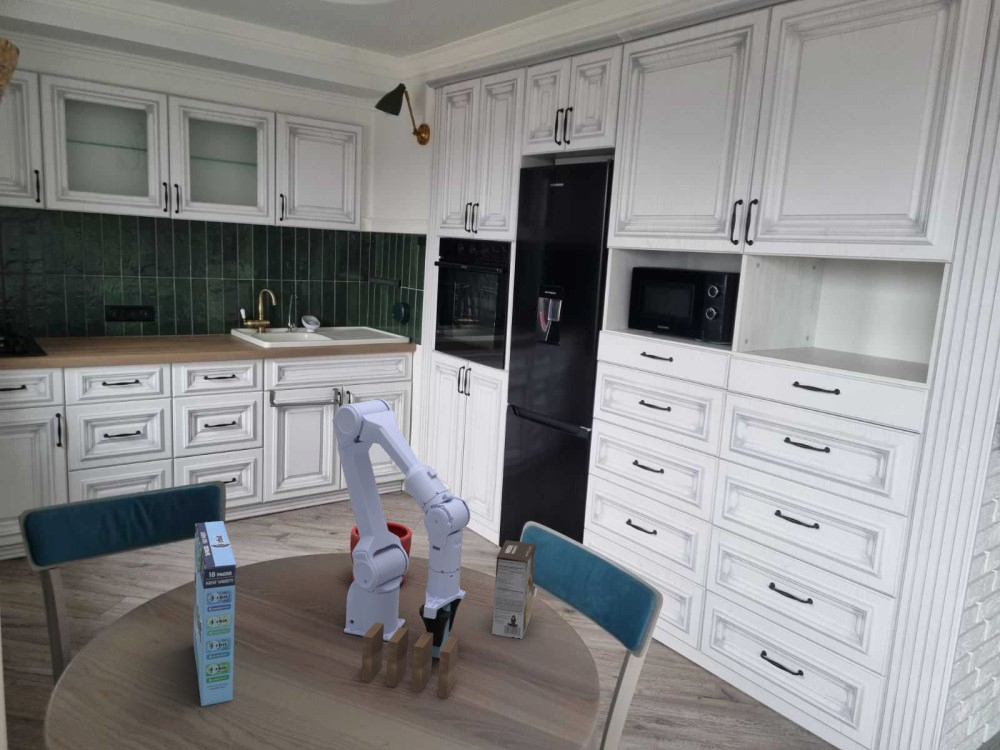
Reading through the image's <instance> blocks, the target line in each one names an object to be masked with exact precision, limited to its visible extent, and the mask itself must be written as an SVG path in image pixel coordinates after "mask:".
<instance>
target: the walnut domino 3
mask: <svg viewBox="0 0 1000 750" xmlns="http://www.w3.org/2000/svg"><path fill="white" fill-rule="evenodd" d="M432 647H433V633H430V632H427V631H423V633H422V634H421V636H419V638H418V640H417V641H416V642H415V644H414V645H413V655H412V656H413V658H412V660H413V661H412V678H411V692H415V693H419V694H422V692H423V690H424V689H425V687H426V685H427V684H428V683H429V681H430V679H431V677H432V663H433V661H432V660H433V657H432Z"/></svg>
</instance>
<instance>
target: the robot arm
mask: <svg viewBox="0 0 1000 750" xmlns="http://www.w3.org/2000/svg"><path fill="white" fill-rule="evenodd" d="M332 425H333V430H334V433H335V436H336V440H337V451H338V456H339V460H340V463H341V469H342V472H343V476H344V480H345V484H346V489H347V491H348V496H349V500H350V503H351V508H352V512H353V515H354V519H355V520H354V521H355V523H356V526H357V528H358V532H359V536H360V540H359V542H358V543H357V545H356V547H355V548H354V550H353V552H352V557H353V563H352V572H353V575H354V579H355V581H353V580H352V583H351V584H350V586H349V589H348V592H347V596H346V606H345V608H346V609H345V611H346V613H345V615H346V617H345V628H344V629H343V632H344V633H346V634H351V635H357V636H361V637H363V636H364V634H365V633H366V632H367V631H368V630H369V629H370V628H371V627H372V625H373V624H374V623H375V622H377V623H382V624H384V633H383V641H387V642H388V641H389V640H390V638H391V637H392V636H393V635H394V633H395V632H396V631H397V630H398V628H399V627H403V626H404V625H405V623H406V620H405V618H404V619H403V618H399V604H400V603H399V602H400V601H399V600H400V586H401V584H400V582H401V581H402V575H404V574H405V575H406V573H408V570H409V566H410V561H409V558H408V556H407V553H406V552H405V550H404V549H403V547H402V545H401V542H400V538H399V537H398V536H396V535H394V534H393V533H391V532H389V531H388V528H387V524H386V522H387V519H386V516H385V511H384V508H383V505H382V500H381V496H380V493H379V488H378V485H377V480H376V477H375V472H374V469H373V464H372V462H371V461H372V460H371V456H370V453H369V452H370V449H371V447H372V446H373V444H376V445H377V444H378V445H379V446H380V447H381V448H382V449H383V451H384V452H385V453H386V454H387V455H388V456H389V458H390V459H391V460H392V461H393V462H394V464H395V465H396V466H397V467H398V468H399V469H400V471H401V472H402V473H403V474H404V475H405V476H404V487H405V488H406V490H407V491H408V493H409V494H410V496H412V498H413V500H414V501H415V503H416V504H417V505H418V507H420V509H421V511H422V512H423V514H424V515H425V516H423V524H424V528H425V529H426V531H427V535H428V536H427V541H428V543H429V550H428V552H429V553H428V565H427V566H428V567H427V584H426V589H425V604H421V606H420V607H419V611H418V614H419V617H420V618H421V619H422V621H423V623H424V624H423V625H424V626H425V630H426V631H425V632H430V633H433V646H436V647H440V646H441V645H442V642H443V638H444V633H445V628H446V625H447V622H448V619H449V617H450V621H449V633H450V632H451V631H452V628H453V626H454V622H455V618H456V615H457V610H458V608H459V605H460V603H461V601H462V600H463V599H464V598H465V596H466V591H465V590H462V589H461V587H460V586H461V585H460V583H461V568H462V567H461V565H462V551H463V549H462V548H463V535H464V534H463V533H464V528H466V527H467V526H468V525H469V523H470V519H471V511H470V508H469V506H468V504H467V502H466V501H465V499H464V498H462V497H460V496H457V495H455V494H454V493H452V492H450V491H449V490H448V489H447V487H446V486H445V485H444V483H443V481H442V480H441V479H440V477H439V476H438V472H437V471H436V469H435V468H432V467H431V466H430V465H427V464H422V463H421V462H420V461H419V459H418V457H417V456H416V454H415V452H414V451H413V449H412V448H411V446H410V444H409V442H408V441H407V440H406V438H405V436H404V434H403V433H402V431H401V430H400V428H399V426H398V425H397V414H396V412H394V410H392V407H391V406H390V403H388V401H386V400H385V399H383V398H375V399H372V400H367V401H365V400H364V401H361V402H355V403H344V404H341V405H340V406H339V407H338V409H337V411H336V412H335V414H334V417H333V418H332ZM379 549H381V550H379ZM377 550H379V551H377ZM375 551H376V552H375ZM448 603H451V605H450V611H445V610H443V608H442V607H443V606H444V605H446V604H448Z"/></svg>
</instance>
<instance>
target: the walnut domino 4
mask: <svg viewBox="0 0 1000 750" xmlns="http://www.w3.org/2000/svg"><path fill="white" fill-rule="evenodd" d="M459 640H460V639H459V637H454V636H450V635H449V636H448V640H447V641H446V643H445V644H444V646H443V647H442V649H441V651H440V658H439V665H438V667H439V668H438V683H437V684H438V685H437V697H439V698H444V699H448V697H449V696H450V693H451V691H452V690H453V689H454V687H455V684H456V682H457V672H458V669H457V668H458V654H459V653H458V652H459V642H460V641H459Z"/></svg>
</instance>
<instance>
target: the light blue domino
mask: <svg viewBox="0 0 1000 750" xmlns="http://www.w3.org/2000/svg"><path fill="white" fill-rule="evenodd" d="M450 605H451V603H448V604H446V605H444V606H443V607H442V608H443V610H445V611H450ZM449 621H450V617H449V619H448V622H447V625H446V628H445V633H444V638H443V642H442V645H441V646H440V647H436V646H433V647H432V658H437V659H440V651H441V649H442V647H443V646H444V644H445V643H446V641H447V640H448V638H449V636H450V632H449Z"/></svg>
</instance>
